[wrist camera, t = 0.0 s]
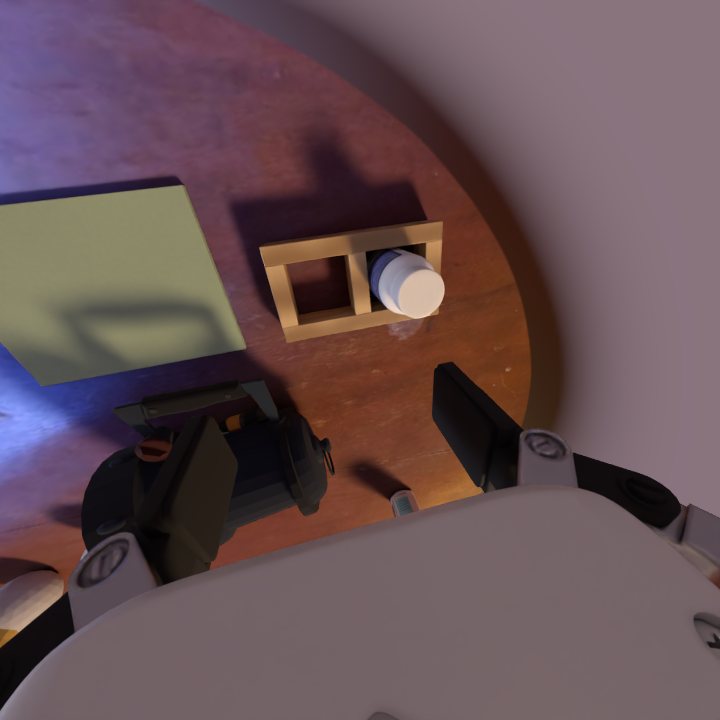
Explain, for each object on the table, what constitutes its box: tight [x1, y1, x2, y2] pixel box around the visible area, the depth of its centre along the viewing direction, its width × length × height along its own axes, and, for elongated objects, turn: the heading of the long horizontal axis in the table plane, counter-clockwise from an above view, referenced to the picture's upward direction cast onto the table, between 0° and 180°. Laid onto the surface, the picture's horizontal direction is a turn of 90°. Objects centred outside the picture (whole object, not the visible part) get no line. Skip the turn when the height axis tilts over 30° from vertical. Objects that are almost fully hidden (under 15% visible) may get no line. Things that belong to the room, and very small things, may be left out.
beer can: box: [390, 490, 420, 517], centre depth 44 cm, size 5×5×12 cm
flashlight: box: [81, 379, 335, 552], centre depth 27 cm, size 15×21×20 cm
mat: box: [0, 185, 247, 387], centre depth 23 cm, size 15×20×1 cm
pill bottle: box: [367, 247, 444, 318], centre depth 24 cm, size 5×5×9 cm
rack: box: [259, 220, 443, 342], centre depth 26 cm, size 9×16×3 cm, turn 96°
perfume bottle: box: [0, 570, 64, 647], centre depth 35 cm, size 8×10×12 cm
